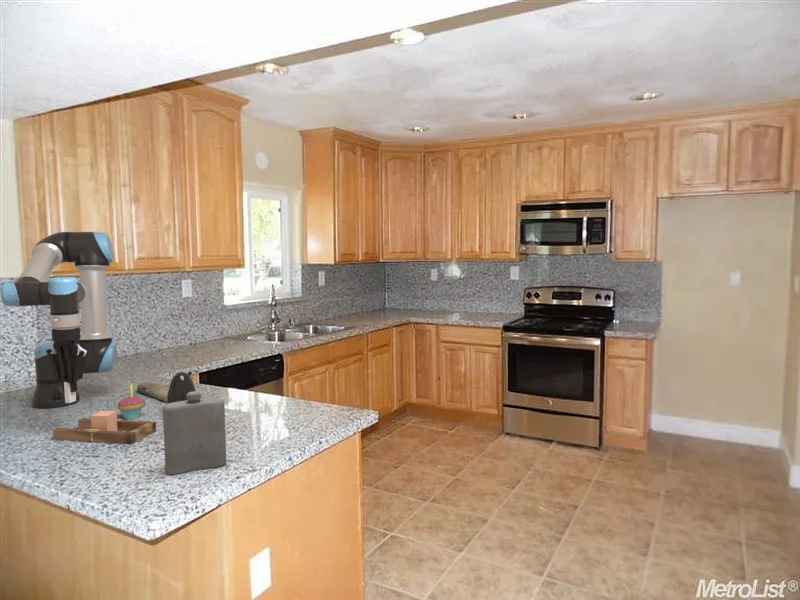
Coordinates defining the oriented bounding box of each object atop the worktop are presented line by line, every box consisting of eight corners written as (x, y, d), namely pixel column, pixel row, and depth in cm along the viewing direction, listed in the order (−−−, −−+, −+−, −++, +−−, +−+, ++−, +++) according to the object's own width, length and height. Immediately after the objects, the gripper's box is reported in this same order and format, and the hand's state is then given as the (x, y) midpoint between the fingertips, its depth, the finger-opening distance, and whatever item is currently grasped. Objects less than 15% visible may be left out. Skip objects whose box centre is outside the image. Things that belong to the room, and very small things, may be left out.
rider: (102, 432, 167) (100, 411, 166) (117, 433, 167) (116, 411, 166) (92, 438, 162) (90, 415, 161) (107, 438, 162) (106, 416, 161)
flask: (224, 458, 145) (222, 387, 143) (227, 466, 140) (225, 392, 138) (165, 468, 139) (161, 393, 137) (165, 476, 134) (162, 399, 132)
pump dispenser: (204, 411, 189) (203, 369, 187) (185, 420, 179) (184, 376, 177) (180, 409, 191) (178, 368, 190) (160, 418, 181) (158, 374, 180)
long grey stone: (172, 411, 195) (197, 407, 202) (172, 397, 194) (197, 393, 202) (129, 391, 217) (154, 387, 224) (130, 378, 216) (154, 375, 224)
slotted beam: (83, 427, 172) (82, 417, 172) (156, 430, 168) (155, 420, 168) (53, 439, 160) (52, 429, 160) (131, 444, 156) (131, 433, 156)
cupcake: (120, 415, 185) (118, 381, 184) (146, 412, 188) (145, 379, 187) (116, 422, 177) (114, 387, 176) (144, 419, 180) (142, 384, 179)
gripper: (37, 328, 160) (42, 404, 163) (75, 330, 159) (80, 406, 161) (56, 324, 168) (61, 397, 171) (93, 326, 166) (98, 399, 169)
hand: (70, 401), depth 166 cm, fingers closed
